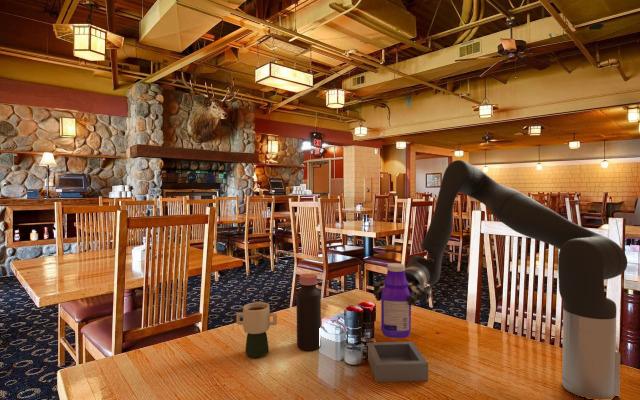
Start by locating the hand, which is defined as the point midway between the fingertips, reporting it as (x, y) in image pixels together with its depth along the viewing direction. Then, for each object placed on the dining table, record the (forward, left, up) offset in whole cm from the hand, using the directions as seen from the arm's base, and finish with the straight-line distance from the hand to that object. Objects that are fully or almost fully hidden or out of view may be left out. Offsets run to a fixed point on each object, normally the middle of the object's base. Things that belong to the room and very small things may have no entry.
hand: (393, 299), depth 87 cm
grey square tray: (-1, -1, -18) cm, 18 cm away
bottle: (-1, -2, -10) cm, 10 cm away
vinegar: (+20, -15, -18) cm, 31 cm away
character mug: (+34, -11, -18) cm, 40 cm away
